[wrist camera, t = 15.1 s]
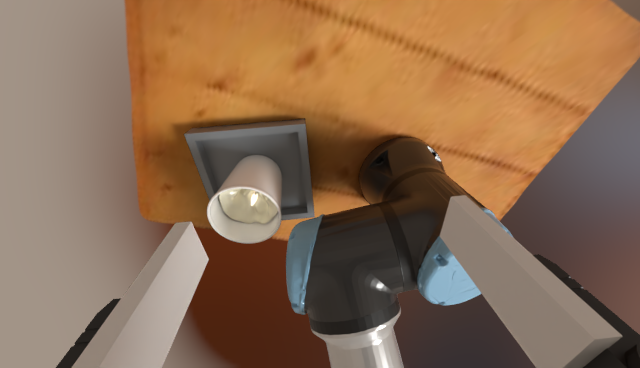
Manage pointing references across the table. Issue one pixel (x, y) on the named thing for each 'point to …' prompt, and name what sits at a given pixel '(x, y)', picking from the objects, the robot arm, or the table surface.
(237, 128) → the tray
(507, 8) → the table surface
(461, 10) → the table surface
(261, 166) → the candle holder
